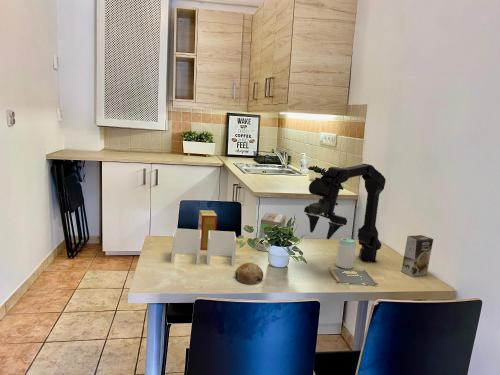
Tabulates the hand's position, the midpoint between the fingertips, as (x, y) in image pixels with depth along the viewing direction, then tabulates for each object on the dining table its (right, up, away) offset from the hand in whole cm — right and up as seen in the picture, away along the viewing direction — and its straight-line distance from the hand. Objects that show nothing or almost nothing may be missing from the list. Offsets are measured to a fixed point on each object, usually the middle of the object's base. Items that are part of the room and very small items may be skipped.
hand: (319, 235), depth 163 cm
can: (+12, -15, +10) cm, 22 cm away
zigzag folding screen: (-47, -10, +4) cm, 49 cm away
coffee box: (+42, -17, +10) cm, 47 cm away
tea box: (-18, -9, +27) cm, 34 cm away
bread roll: (-29, -15, -12) cm, 34 cm away
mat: (+13, -17, -1) cm, 21 cm away
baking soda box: (-48, -7, +19) cm, 52 cm away
